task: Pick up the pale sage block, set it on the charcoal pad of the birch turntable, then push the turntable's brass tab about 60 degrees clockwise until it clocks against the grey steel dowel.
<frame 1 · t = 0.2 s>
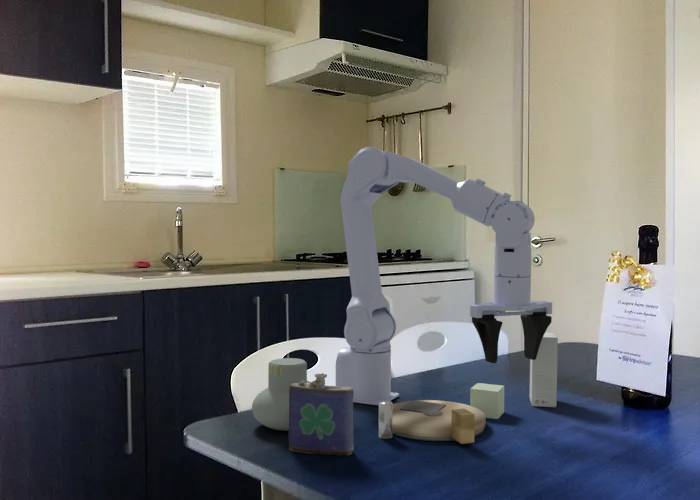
hand: (511, 360, 107), 9 cm above the table, fingers open, 7 cm apart
sage block: (487, 414, 109), on the table
flask: (320, 452, 91), on the table
skincare box: (542, 404, 116), on the table
turntable: (433, 409, 102), point 3 cm above the table, hinge at 0.0°
grey bulbous piece: (287, 427, 103), on the table
turntable base: (432, 425, 103), on the table
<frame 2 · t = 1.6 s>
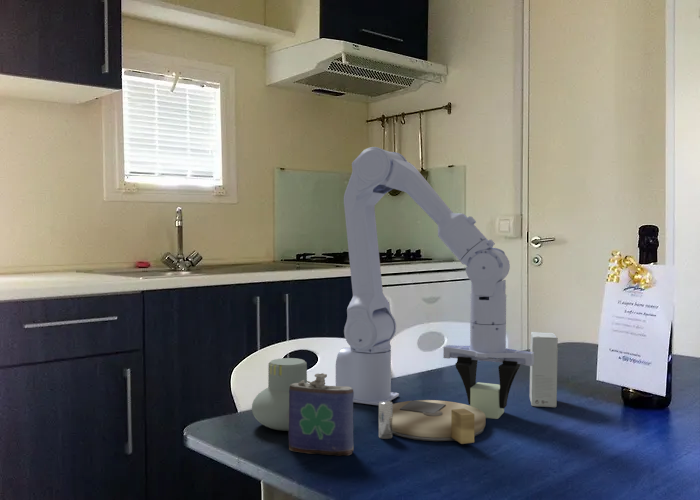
hand: (487, 405, 109), 1 cm above the table, fingers closed on sage block, 4 cm apart
sage block: (487, 413, 109), on the table, touching gripper
everything else where it was.
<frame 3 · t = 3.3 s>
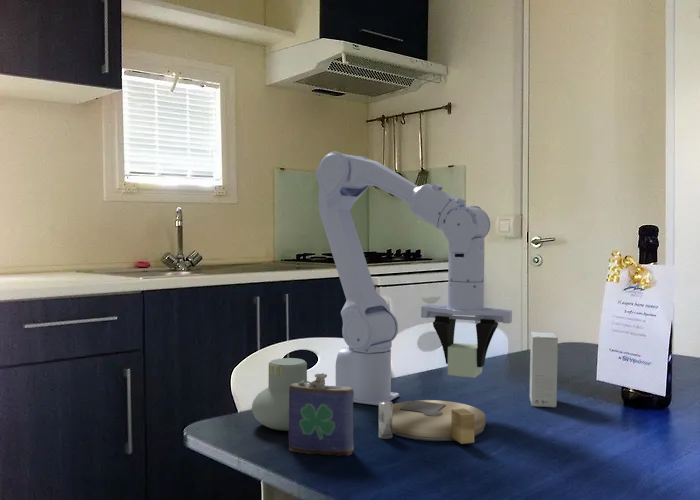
hand: (464, 364, 108), 8 cm above the table, fingers closed on sage block, 4 cm apart
sage block: (465, 373, 108), point 7 cm above the table, touching gripper
everything else where it was.
when the fingers open (4 cm above the table, at t = 4.9 s): sage block stays where it is, resting on turntable.
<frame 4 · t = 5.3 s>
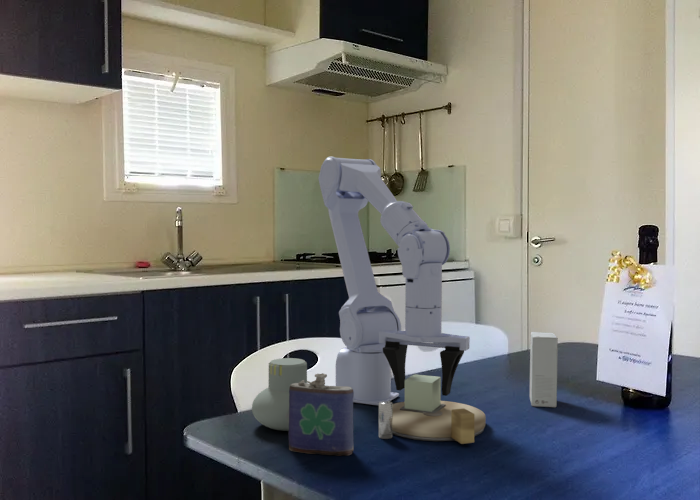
hand: (423, 391, 106), 4 cm above the table, fingers open, 7 cm apart
sage block: (422, 406, 106), point 2 cm above the table, touching turntable
turntable: (433, 409, 102), point 3 cm above the table, hinge at 0.0°, touching sage block
everything else where it was.
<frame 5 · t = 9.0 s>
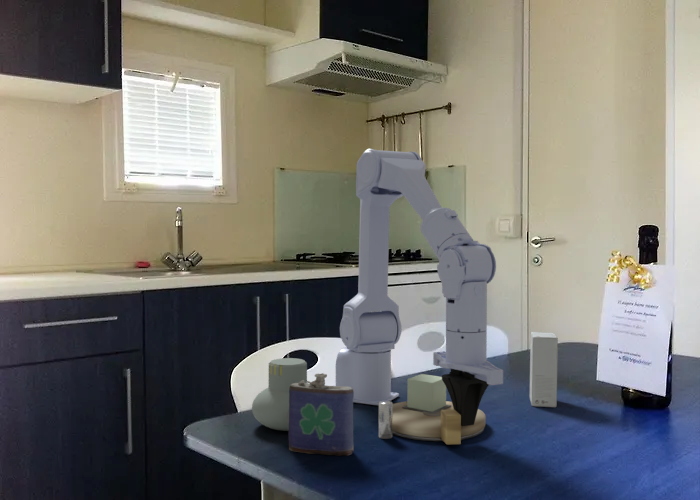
hand: (465, 424, 95), 2 cm above the table, fingers closed
turntable: (433, 409, 102), point 3 cm above the table, hinge at -11.1°, touching gripper, sage block
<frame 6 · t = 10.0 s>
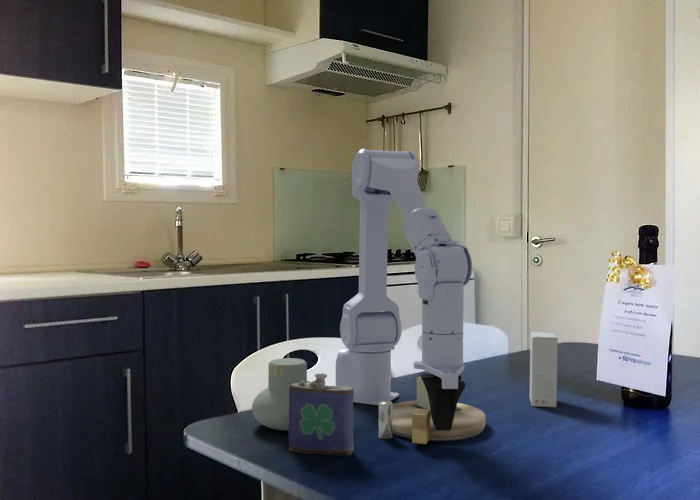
hand: (442, 427, 94), 2 cm above the table, fingers closed
sage block: (436, 406, 106), point 2 cm above the table, touching turntable
turntable: (432, 409, 102), point 3 cm above the table, hinge at -35.9°, touching gripper, sage block
everything else where it was.
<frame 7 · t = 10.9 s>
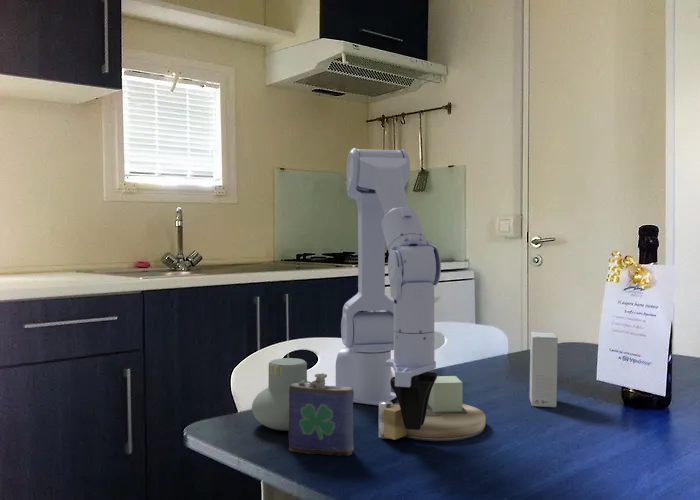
hand: (414, 426, 94), 2 cm above the table, fingers closed
sage block: (444, 407, 105), point 2 cm above the table, touching turntable
turntable: (431, 408, 103), point 3 cm above the table, hinge at -60.0°, touching gripper, sage block, turntable base
everything else where it was.
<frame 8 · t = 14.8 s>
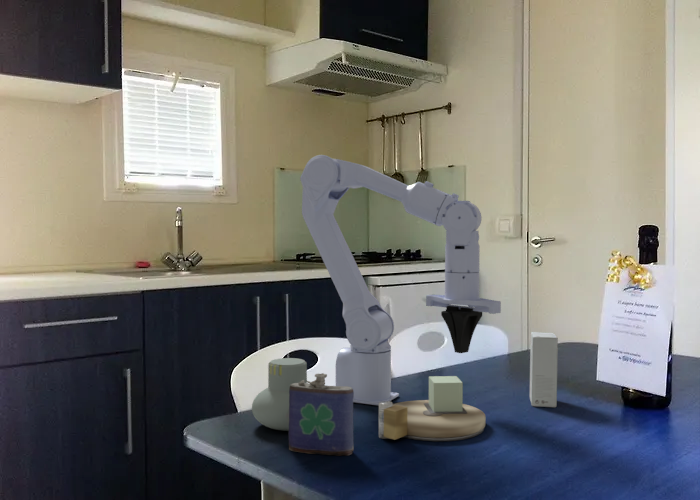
hand: (461, 352, 113), 9 cm above the table, fingers closed
turntable: (431, 408, 103), point 3 cm above the table, hinge at -60.0°, touching sage block, turntable base
everything else where it was.
at the end: turntable at -60° (first picture: +0°); sage block tilted 0°; sage block 3.5 cm from the turntable (horizontally) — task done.
